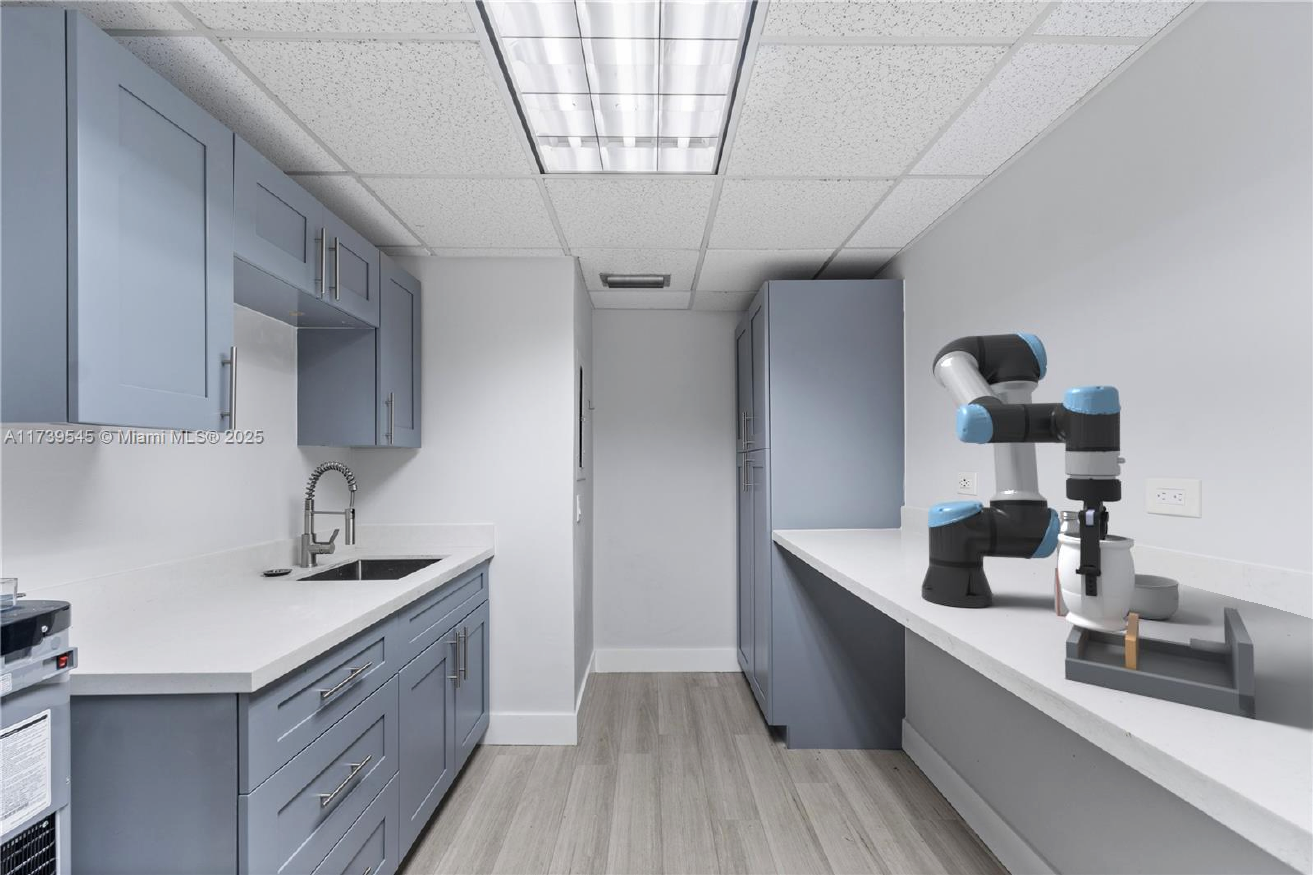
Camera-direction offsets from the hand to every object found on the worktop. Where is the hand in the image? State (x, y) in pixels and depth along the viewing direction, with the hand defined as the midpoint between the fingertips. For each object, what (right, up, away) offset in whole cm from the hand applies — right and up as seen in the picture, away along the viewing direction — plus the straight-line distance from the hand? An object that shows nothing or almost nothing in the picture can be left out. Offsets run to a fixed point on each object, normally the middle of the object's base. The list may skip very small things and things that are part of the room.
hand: (1095, 608), depth 98 cm
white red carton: (+16, -10, +27) cm, 33 cm away
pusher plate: (+4, -8, -3) cm, 9 cm away
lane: (+6, -9, -5) cm, 12 cm away
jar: (0, -3, 0) cm, 3 cm away
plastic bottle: (+30, -10, +47) cm, 57 cm away
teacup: (+32, -10, +28) cm, 44 cm away
